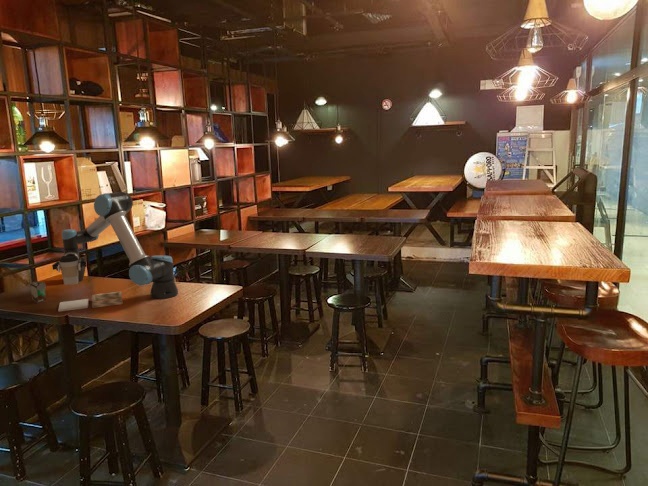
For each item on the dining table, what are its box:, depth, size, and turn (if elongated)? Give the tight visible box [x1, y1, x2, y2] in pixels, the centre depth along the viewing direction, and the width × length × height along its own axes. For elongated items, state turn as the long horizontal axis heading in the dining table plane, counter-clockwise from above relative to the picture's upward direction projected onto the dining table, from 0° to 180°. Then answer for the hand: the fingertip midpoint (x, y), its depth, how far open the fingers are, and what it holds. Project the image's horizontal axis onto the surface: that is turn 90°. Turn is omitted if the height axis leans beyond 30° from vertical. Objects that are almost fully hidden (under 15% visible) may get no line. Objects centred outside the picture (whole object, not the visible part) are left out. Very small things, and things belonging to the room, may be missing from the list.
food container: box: [29, 281, 47, 304], centre depth 276 cm, size 12×6×10 cm, turn 47°
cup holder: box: [91, 291, 124, 309], centre depth 273 cm, size 15×15×3 cm
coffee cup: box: [58, 255, 79, 286], centre depth 263 cm, size 9×9×15 cm
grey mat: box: [57, 298, 89, 312], centre depth 267 cm, size 14×14×1 cm
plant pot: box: [59, 253, 87, 283], centre depth 316 cm, size 15×15×16 cm
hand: (69, 268), depth 259 cm, fingers closed on coffee cup, 9 cm apart
